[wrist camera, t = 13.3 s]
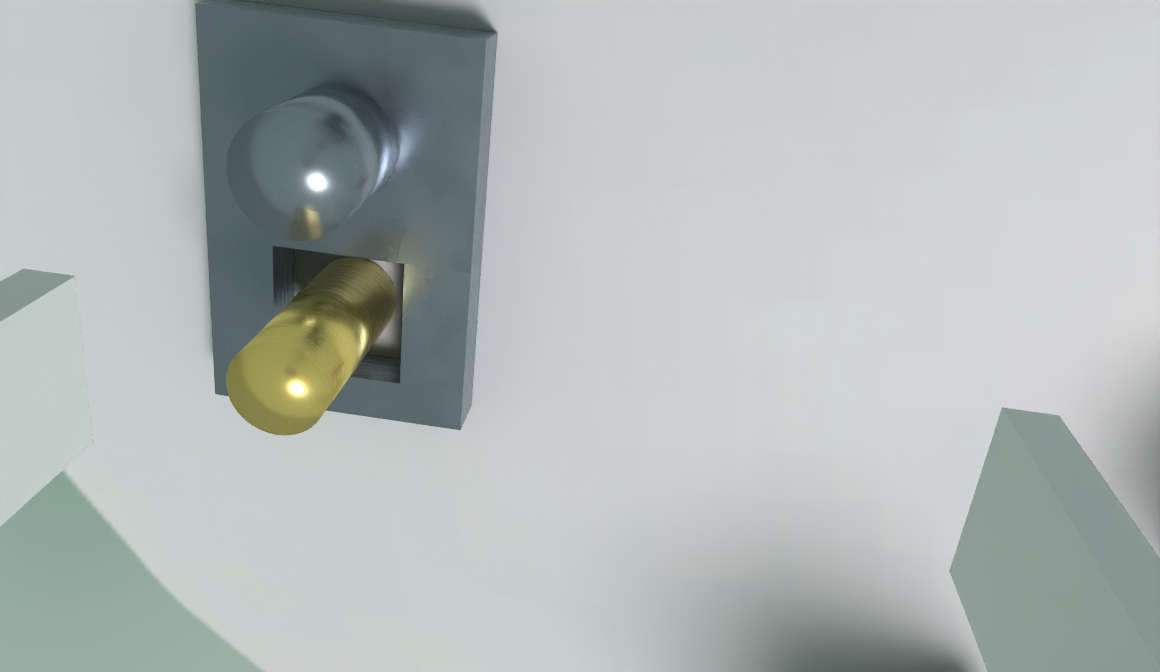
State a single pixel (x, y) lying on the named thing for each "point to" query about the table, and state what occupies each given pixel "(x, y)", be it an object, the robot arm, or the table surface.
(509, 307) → the table surface
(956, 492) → the table surface
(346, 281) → the round pin
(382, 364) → the gray peg plate
